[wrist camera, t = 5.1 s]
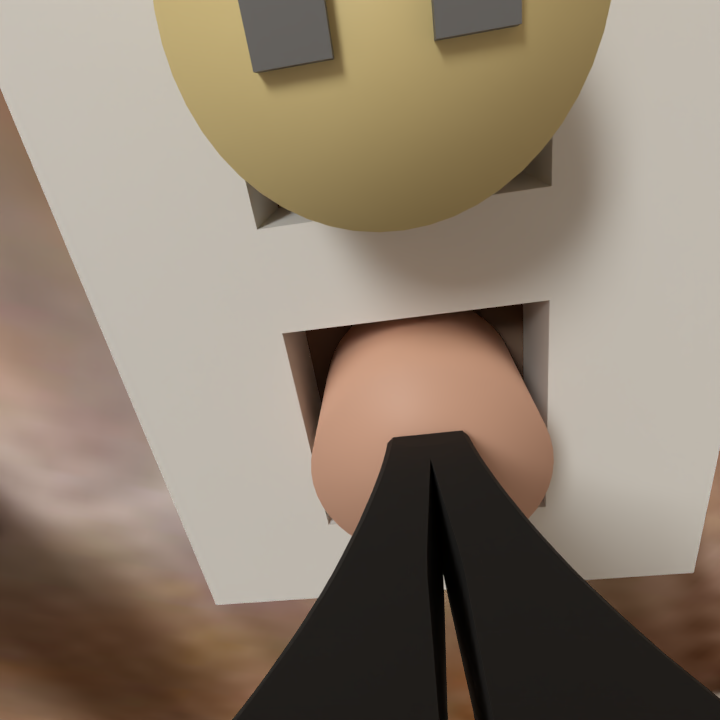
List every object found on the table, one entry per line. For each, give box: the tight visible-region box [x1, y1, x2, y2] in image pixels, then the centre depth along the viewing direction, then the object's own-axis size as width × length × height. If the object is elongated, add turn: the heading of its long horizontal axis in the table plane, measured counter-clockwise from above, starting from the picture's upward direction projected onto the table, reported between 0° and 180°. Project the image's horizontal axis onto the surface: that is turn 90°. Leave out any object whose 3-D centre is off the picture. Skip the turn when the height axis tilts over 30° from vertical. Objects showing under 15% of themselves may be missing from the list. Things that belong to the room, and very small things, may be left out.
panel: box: [0, 0, 720, 605], centre depth 8 cm, size 12×24×2 cm, turn 9°
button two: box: [153, 0, 611, 232], centre depth 6 cm, size 4×4×3 cm
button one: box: [311, 310, 554, 536], centre depth 11 cm, size 4×4×3 cm
